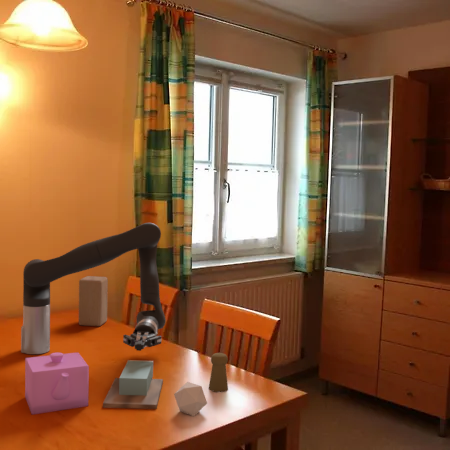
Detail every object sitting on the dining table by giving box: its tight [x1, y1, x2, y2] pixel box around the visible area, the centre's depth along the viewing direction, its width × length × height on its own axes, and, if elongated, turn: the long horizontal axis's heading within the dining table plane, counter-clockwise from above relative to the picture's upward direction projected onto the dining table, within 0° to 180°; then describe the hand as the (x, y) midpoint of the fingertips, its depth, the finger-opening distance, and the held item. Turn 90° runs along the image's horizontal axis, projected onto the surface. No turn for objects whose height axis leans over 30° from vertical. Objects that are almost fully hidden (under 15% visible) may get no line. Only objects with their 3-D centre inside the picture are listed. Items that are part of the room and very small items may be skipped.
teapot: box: [24, 352, 90, 415], centre depth 160 cm, size 15×25×14 cm, turn 27°
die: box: [173, 381, 208, 417], centre depth 157 cm, size 8×9×10 cm
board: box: [102, 377, 164, 410], centre depth 168 cm, size 15×20×1 cm
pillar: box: [118, 359, 154, 396], centre depth 172 cm, size 8×5×16 cm
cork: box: [208, 352, 229, 393], centre depth 175 cm, size 6×6×11 cm
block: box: [78, 275, 109, 327], centre depth 245 cm, size 10×10×20 cm
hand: (138, 347), depth 175 cm, fingers closed
